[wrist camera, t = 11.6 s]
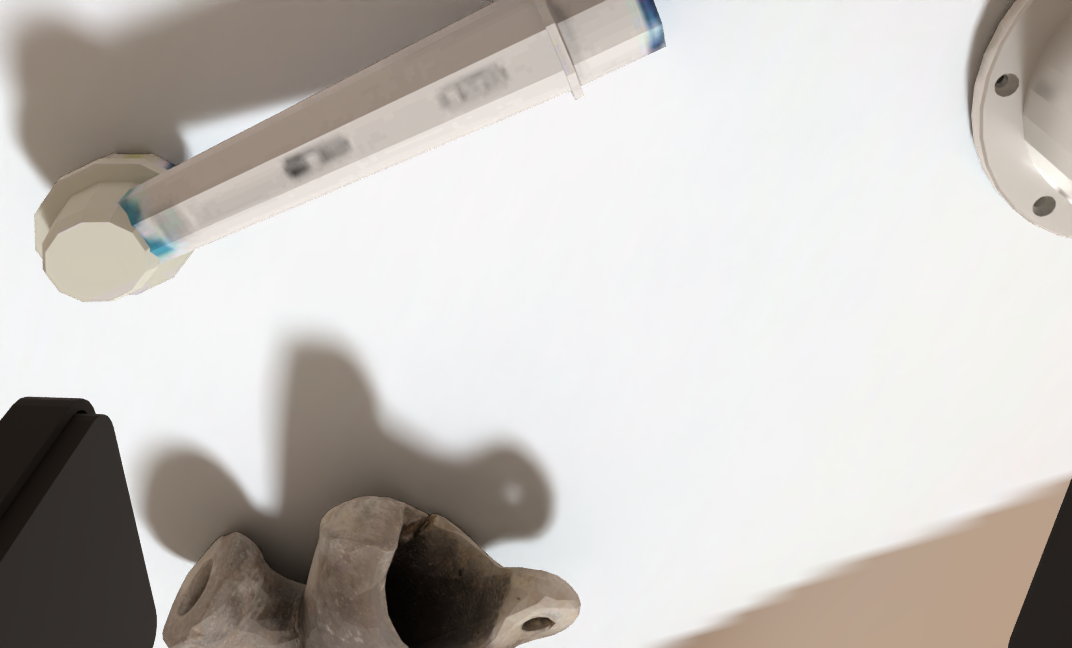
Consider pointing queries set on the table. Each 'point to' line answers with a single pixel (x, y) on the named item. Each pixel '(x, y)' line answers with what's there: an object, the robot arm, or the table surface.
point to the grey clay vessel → (369, 590)
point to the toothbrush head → (330, 139)
